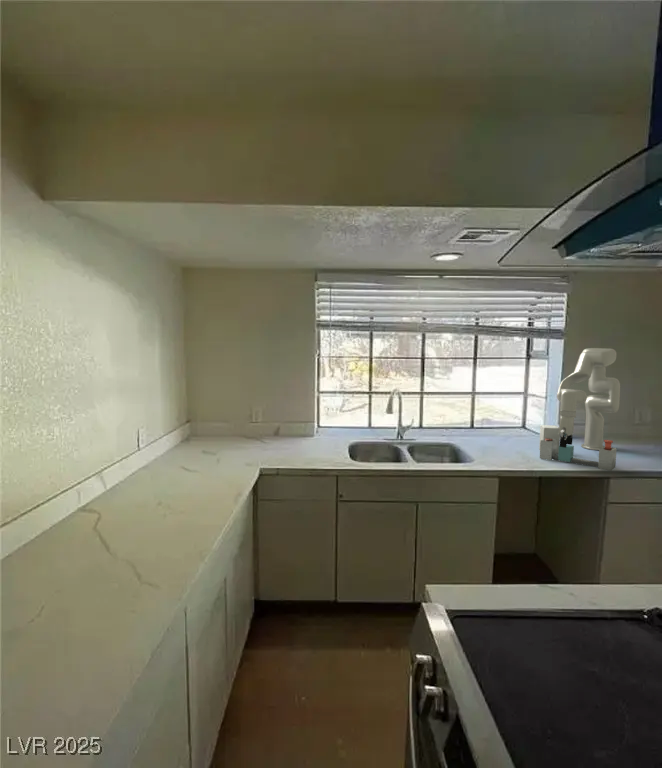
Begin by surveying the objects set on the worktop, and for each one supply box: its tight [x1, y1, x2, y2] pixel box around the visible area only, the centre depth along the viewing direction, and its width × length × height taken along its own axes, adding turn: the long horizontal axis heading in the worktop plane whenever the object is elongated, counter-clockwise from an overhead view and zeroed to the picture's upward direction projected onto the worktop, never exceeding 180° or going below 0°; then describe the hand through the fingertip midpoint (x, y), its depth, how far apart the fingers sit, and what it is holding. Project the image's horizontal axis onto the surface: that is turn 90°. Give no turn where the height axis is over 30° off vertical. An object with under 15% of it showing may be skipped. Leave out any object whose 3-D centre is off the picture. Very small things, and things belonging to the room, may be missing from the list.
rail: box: [553, 454, 598, 468], centre depth 246 cm, size 3×22×2 cm, turn 47°
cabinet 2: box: [597, 445, 617, 471], centre depth 236 cm, size 8×6×10 cm
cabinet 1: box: [539, 438, 557, 461], centre depth 255 cm, size 8×6×11 cm
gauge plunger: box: [603, 439, 614, 450], centre depth 235 cm, size 4×4×5 cm
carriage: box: [557, 444, 575, 463], centre depth 250 cm, size 5×6×8 cm
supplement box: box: [538, 424, 560, 455], centre depth 268 cm, size 9×9×15 cm
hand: (565, 445), depth 249 cm, fingers open, 9 cm apart
